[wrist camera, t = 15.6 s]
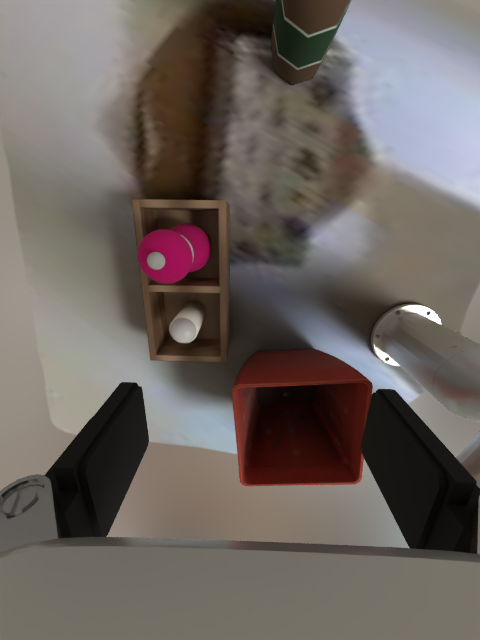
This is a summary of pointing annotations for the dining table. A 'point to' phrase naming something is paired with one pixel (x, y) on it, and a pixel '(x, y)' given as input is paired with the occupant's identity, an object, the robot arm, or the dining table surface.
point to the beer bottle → (304, 35)
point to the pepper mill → (174, 252)
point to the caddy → (188, 280)
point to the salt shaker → (188, 322)
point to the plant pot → (299, 419)
